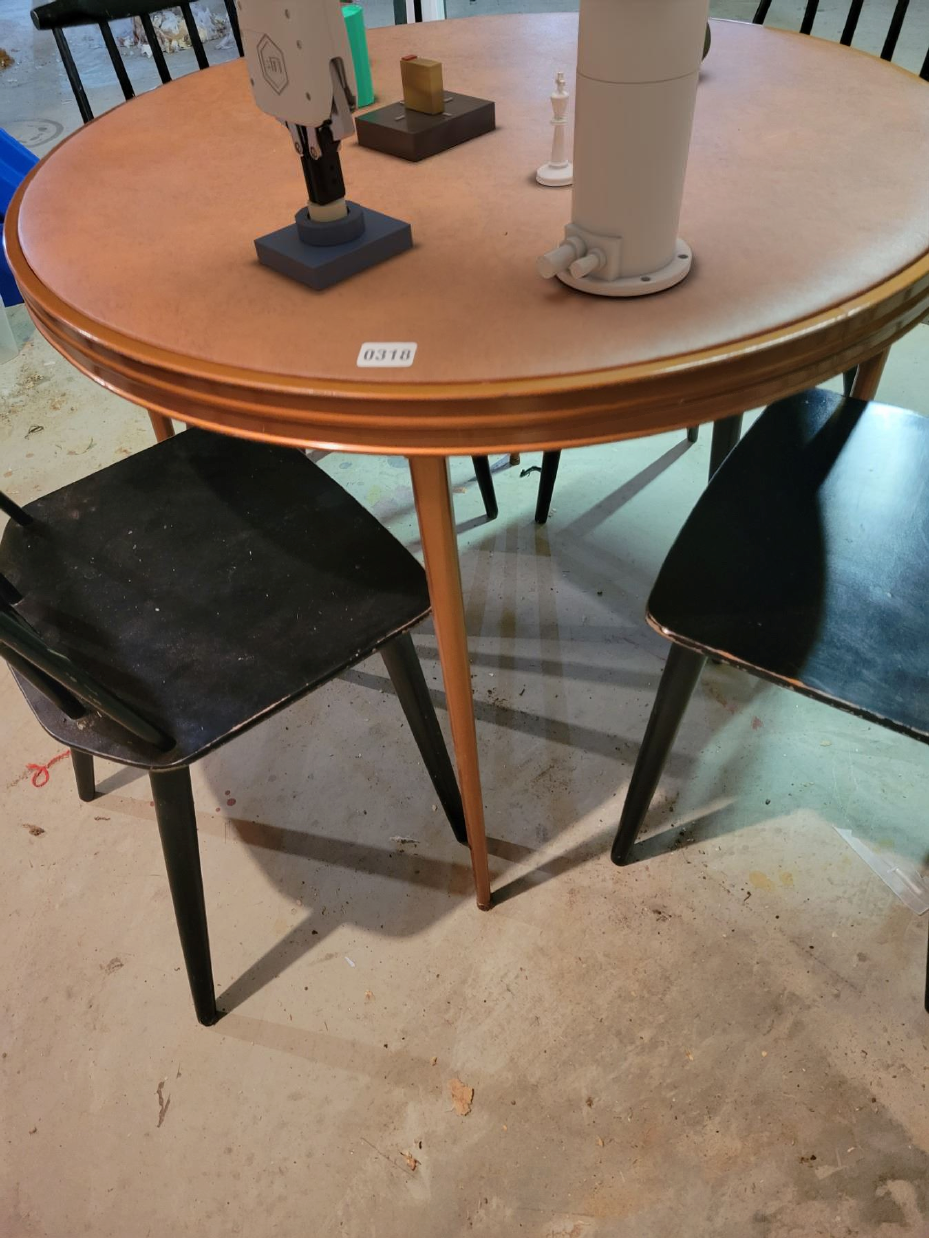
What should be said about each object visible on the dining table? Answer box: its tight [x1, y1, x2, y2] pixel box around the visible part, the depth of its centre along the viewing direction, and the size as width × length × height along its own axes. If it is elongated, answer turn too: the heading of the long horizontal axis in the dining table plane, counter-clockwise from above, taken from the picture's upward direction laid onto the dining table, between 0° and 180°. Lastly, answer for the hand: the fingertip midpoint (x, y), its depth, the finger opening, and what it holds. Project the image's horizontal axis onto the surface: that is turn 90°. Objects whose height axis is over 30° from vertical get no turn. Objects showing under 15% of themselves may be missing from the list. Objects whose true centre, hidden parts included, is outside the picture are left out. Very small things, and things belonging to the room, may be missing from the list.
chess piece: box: [535, 71, 573, 187], centre depth 83 cm, size 5×5×10 cm
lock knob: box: [399, 53, 445, 115], centre depth 95 cm, size 5×2×5 cm, turn 44°
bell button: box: [306, 196, 348, 222], centre depth 74 cm, size 4×4×2 cm
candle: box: [342, 4, 375, 109], centre depth 106 cm, size 6×6×12 cm
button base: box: [253, 199, 414, 292], centre depth 76 cm, size 12×10×4 cm
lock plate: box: [354, 89, 496, 163], centre depth 98 cm, size 14×11×3 cm
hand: (328, 199), depth 73 cm, fingers closed
